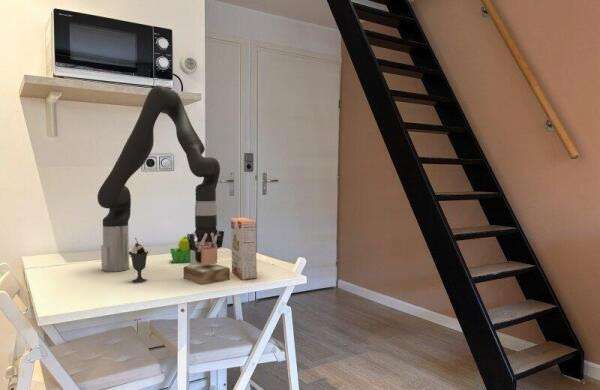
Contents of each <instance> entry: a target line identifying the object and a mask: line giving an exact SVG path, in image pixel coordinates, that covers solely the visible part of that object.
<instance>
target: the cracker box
mask: <svg viewBox="0 0 600 390" xmlns="http://www.w3.org/2000/svg"><path fill="white" fill-rule="evenodd" d="M230 233H231V234H230V236H231V237H230V238H231V239H230V240H231V242H230V243H231V272H232V273H233V274H235V276H237V278H239V279H240V280H241V281H247V280H253V279H254V280H256V279H257V268H258V267H257V221H256V220H252V219H250V218H249V217H248V218H247V217H242V216H241V217H240V216H239V217H230Z"/></svg>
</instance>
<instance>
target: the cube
mask: <svg viewBox="0 0 600 390" xmlns="http://www.w3.org/2000/svg"><path fill="white" fill-rule="evenodd" d="M200 252H201V262H200V263H198V262H197V261H196V263H197V264H201V265H209V264H218V249H217V248H215V247H211V246H205V247H202V249H201V251H200Z"/></svg>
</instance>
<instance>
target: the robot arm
mask: <svg viewBox="0 0 600 390" xmlns="http://www.w3.org/2000/svg"><path fill="white" fill-rule="evenodd" d="M160 114H165V115H167V116H168V117H169V119H171V120H172V122H173V125H174V126H175V130H176V132H175V133H176V138H177V141H178V143H179V145H180V147H181V148H182V150H183V152H184V153H185V155H186V160H187V163H188V168H189V170H190V172H191V173H192V174H193V175H194V176H195V177H197V178H203V180H202V183H199V184H198V185H196V186H195V205H194V227H195V230H194V232H193V233H187V235H186V236H187V238H188V243H189V248H190V250H193V251H195V260H196V261H197V262H198V263H200V262H201V252H200V251H201V249H202V246H203V245H204V243H206V242H209V244H210V246H211V247H215V248H217V250H218V249H219V248H222V247H223V243H224V242H223V241H224V235H225V231H223V230H218V229H217V225H218V221H217V219H218V215H217V214H218V213H217V211H218V210H217V206H218V205H217V194H216V193H217V191H216V190H217V186H218V182H219V179H220V178H219V177H220V173H221V166H220V162H219V161H218V159H217V158H215V157H210V156H209V157H206V156H203V154H204V153H205V146H204V143H203V142H202V140H201V139H200V137H199V135H198V133H197V132H196V130H195V129H194V127H193V125H192V123H191V120H190V118H189V116H188V113H187V111H186V109H185V107H184V104H183V101H182V99H181V96H180V95H179V93H178V92H176V91H175V90H173V89H172V88H171V89H170V88H168V87H165V86H163V85H159V84H158V85H155V86H153V87H152V88H151V89H150V91H149V92H148V93H147V96H146V98H145V101H144V104H143V106H142V109H141V110H140V113H139V115H138V116H139V117H138V118H137V120H136V122H135V125H134V127H133V129H132V131H131V133H130V134H129V137H128V138H127V140H126V142H125V144H124V146H123V148H122V151H121V153H120V155H119V156H118V158H117V160H116V161H115V164H114V166H113V167H112V169H111V171H110V172H109V174H108V176H107V177H106V179H105V180H104V182H103V183H102V185H101V186H100V188H99V189H98V192H97V197H96V198H97V202H98V205H99V206H100V207H102V208H103V209H108V210H109V211H108V213H107V215H106V216H105V217H103V218H102V245H100V246H101V247H100V250H101V252H100V253H101V255H100V256H101V259H100V260H101V270H102V271H104V272H106V273H109V272H112V273H113V272H121V271H126V270H129V269H130V255H129V252H130V249H129V246H130V245H129V244H130V243H129V220H130V218H131V209H132V208H131V206H132V204H131V203H132V202H131V201H132V199H131V198H132V194H131V192H130V189H129V187H127V185H126V184H127V182H128V181H129V179H130V178H131V177H132V176H133V175H134V174H135V173H136V172H137V171H138V170H139V169H140V168H141V167H143V165H144V164H145V162H146V161H147V159H148V158H149V155H150V154H151V152H152V150H153V147H154V142H155V141H154V139H155V136H154V127H155V124H156V122H157V119H158V117H159V115H160ZM195 239H197V241H196V245H195Z"/></svg>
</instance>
